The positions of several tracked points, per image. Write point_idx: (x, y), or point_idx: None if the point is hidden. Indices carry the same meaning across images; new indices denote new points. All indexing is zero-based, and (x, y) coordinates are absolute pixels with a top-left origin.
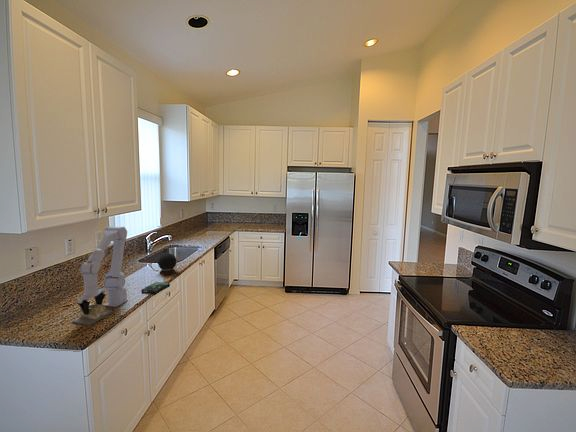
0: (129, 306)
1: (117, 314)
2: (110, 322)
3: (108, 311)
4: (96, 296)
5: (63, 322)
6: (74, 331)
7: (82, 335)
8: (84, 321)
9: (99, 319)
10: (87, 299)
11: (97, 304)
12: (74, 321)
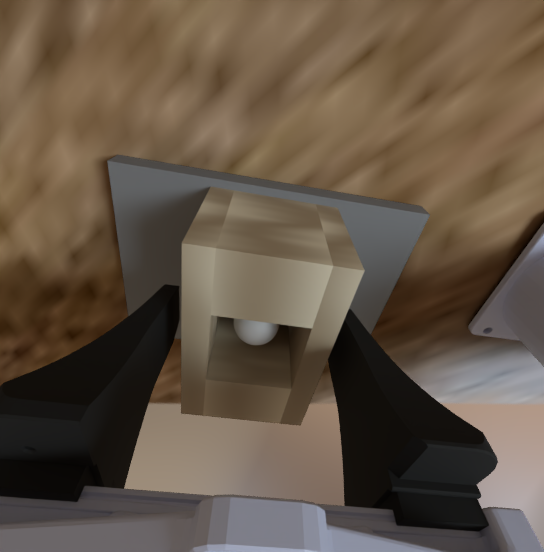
0: (453, 391)
1: (321, 384)
2: None
3: None
4: (382, 453)
5: (82, 15)
6: (18, 283)
7: (15, 356)
8: (140, 284)
9: None
10: (131, 503)
11: (312, 375)
12: (113, 188)
